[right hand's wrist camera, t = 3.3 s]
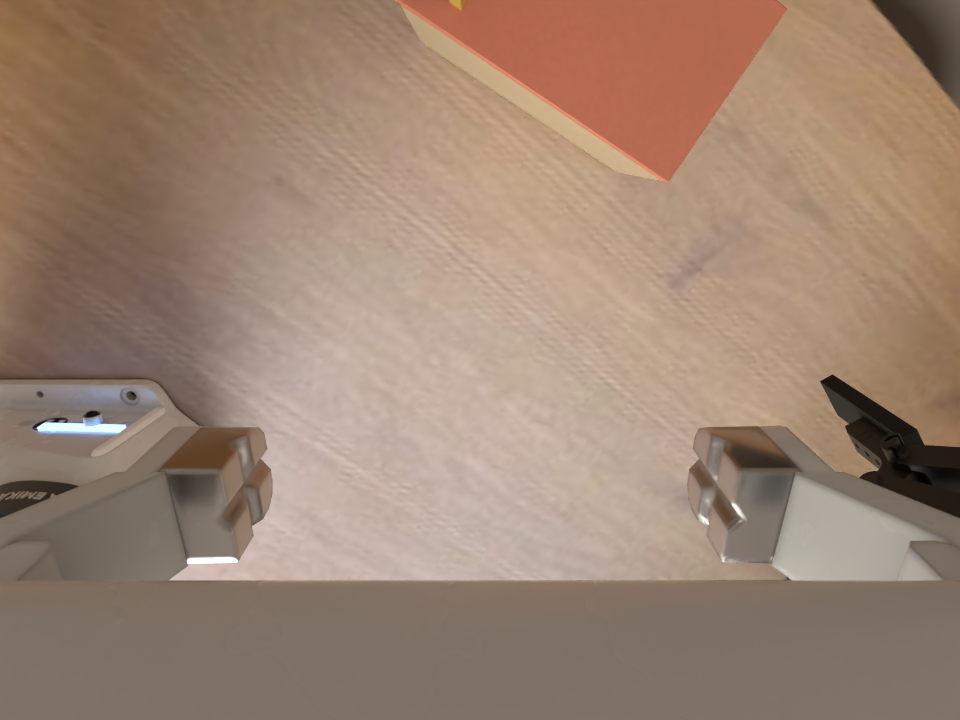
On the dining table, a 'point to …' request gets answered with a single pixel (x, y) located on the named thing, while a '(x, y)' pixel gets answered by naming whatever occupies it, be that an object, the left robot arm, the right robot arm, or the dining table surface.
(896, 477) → the left robot arm
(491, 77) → the chest
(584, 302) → the dining table surface
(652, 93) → the lid
